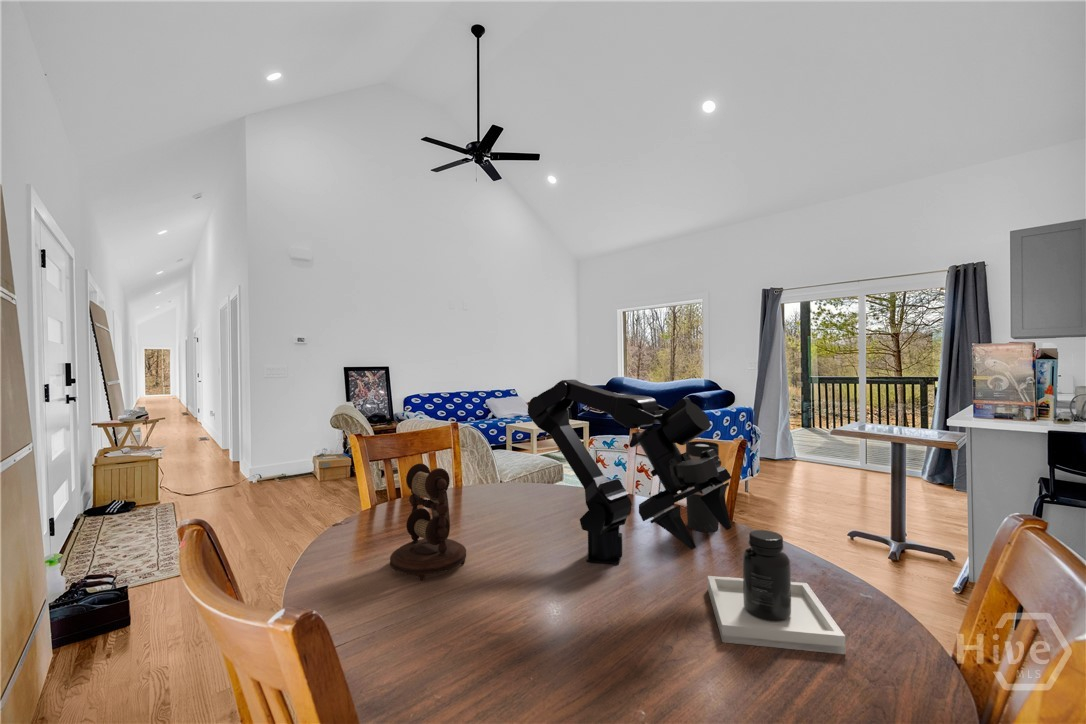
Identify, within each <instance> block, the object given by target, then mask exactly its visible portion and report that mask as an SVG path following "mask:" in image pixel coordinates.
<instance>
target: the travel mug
mask: <svg viewBox="0 0 1086 724" xmlns="http://www.w3.org/2000/svg"><path fill="white" fill-rule="evenodd" d="M719 447H720V446H719V444H718V443H716V442H712V441H705V440H703V441H701V440H698V441H697V440H695V441H694V440H692V441H690V442H688V443H687V444H685V452H686V453H687V454H688V455H689V456H690V458H691V459H697V458H699V457H701V452H704V451H706V450H711V449H713V450H714V451H715V452H716V454H717V455H718V456H719V457H720V452H719V451H720V450H719ZM689 488H690V487H689ZM689 488H687V489H689ZM703 495H704V494H701V493H699V492H697V493H695V494H693V495H691V496H688V497H686V498H685V499H686V518H687V519H686V520H687V526H688V527H687V528H689V529H691V530H693V531H697V532H703V533H709V532H710V533H711V532H713V533H714V532H717V531H718V530H719V529H720V528H719V526H720V525H719V524H720V523H719V521H718V520H717V519H716V518H715V516H714V515H713V514H712V513H711V511H710V510H709V509H708V507H707V506H706V505H705V504H704V502H703V501H702V500H701V499H700V497H702V496H703Z"/></svg>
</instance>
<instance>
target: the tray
mask: <svg viewBox="0 0 1086 724" xmlns="http://www.w3.org/2000/svg"><path fill="white" fill-rule="evenodd" d="M707 592H708V595H709V596H708V597H709V599H710V603H711V606H712V607H711V608H712V609H713V614H714V617H715V619H716V624H717V628H718V631H719V635H720V638H721V642H722V643H724V644H725V643H728V644H737V645H749V646H758V647H768V648H777V649H786V650H787V649H788V650H799V651H805V652H806V651H807V652H809V651H810V652H817V653H819V652H820V653H828V654H837V655H838V654H839V655H846V634H844V632H843V631H842V630H841V628H840V627H839V625H838V624H837V623H836V621H835V620H834V618H833V617H832V615H831V614H830V613H829V611H828V610H827V608H826V607H825V606H824V605H823V603H822V602H821V600H820V599H819V598H818V596H817V595H816V594H815V592H814V591H813V590H812V587H810V585H809V584H808V583H807V582H796V581H791V615H790V617H789V618H788V619H786V620H783V621H768V620H763V619H760V618H757V617H755V616H753V615H751V614H750V613H749V612H748V611H747V610H746V609H745V607H744V598H743V577H742V578H740V577H728V576H714V575H707Z"/></svg>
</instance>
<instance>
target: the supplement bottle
mask: <svg viewBox="0 0 1086 724" xmlns="http://www.w3.org/2000/svg"><path fill="white" fill-rule="evenodd" d="M748 545H749V547H748V548H746V549H745V550H744V552H743V554H742V578H743V598H744V607H745V609H746V610H747V611H748V612H749V613H750V614H751V615H753V616H755V617H757V618H760V619H763V620H768V621H783V620H786V619H788V618H789V617H790V615H791V582H792V576H791V575H792V573H791V572H792V569H791V559H790V558H789V556H788V555H787V554H786V553H785V552H784V551H783V550H784V537H783V535H782V534H780V533H778V532H775V531H773V530H772V531H771V530H764V529H755V530H751V531H750V532H749V540H748Z"/></svg>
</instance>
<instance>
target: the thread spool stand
mask: <svg viewBox="0 0 1086 724" xmlns="http://www.w3.org/2000/svg"><path fill="white" fill-rule="evenodd" d="M450 481H451V480H450V474H449V473H448V471H447V470H446V469H444V468H442V467H437V468H434V469H432V470H430V468H429V466H427V465H426V464H425V463H415V464H414V465H412V466H411V467H410V468H409V469H408V471H407V473H406V478H405V482H406V483H405V484H406V486H407V488H408V489H409V490H410V493H411V494H410V496H409V499H408V501H409V503H410V505H411V507H412V509H411V511H410V512H411V513H410V514H409V516H408V517H407V520H406V524H405V525H406V531H407V533H408V534H409V535H410V536H411V538H410V539H411V541H410V542H408V543H405V544H403V545H401V546H400V547H399V548H397V549H395V550H394V551H393V552H392V553H391V554H390V557H389V565H390V567H391V569H392V570H394V571H395V572H397V573H400V574H405V575H411V576H418V579H419V581H420V582H423V581H424V579H425V576H426V575H434V574H439V573H444V572H447V571H449V570H452V569H454V568H456V567H458V566H460V565H461V566H464V565H465V562H466V559H467V549H466V547H465V545H463V544H462V543H460V542H458V541H457V540H453V539H449V536H450V532H451V531H450V530H451V520H450V519H451V517H450V507H449V505H450V504H449V498H448V493H447V491H448V489H449V487H450ZM418 506H423V507H424V508H418ZM425 508H426V509H425ZM427 509H430V510H431V514H430V512H429V511H428V510H427ZM431 515H432V518H431ZM419 538H421V539H419Z"/></svg>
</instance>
